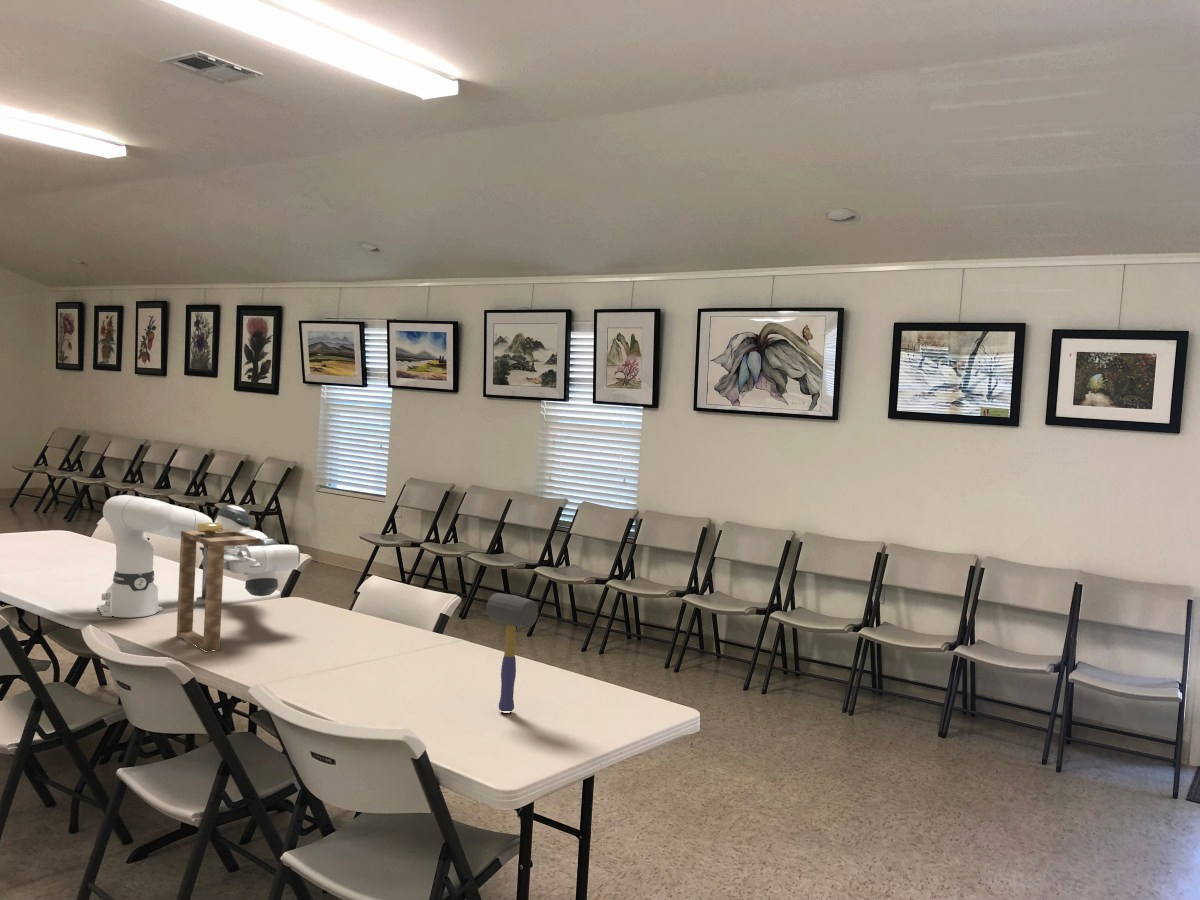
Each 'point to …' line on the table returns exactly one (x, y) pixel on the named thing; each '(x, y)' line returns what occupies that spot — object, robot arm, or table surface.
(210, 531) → the hanger bolt
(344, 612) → the table surface
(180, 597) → the keyhole rack
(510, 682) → the rubber mallet
